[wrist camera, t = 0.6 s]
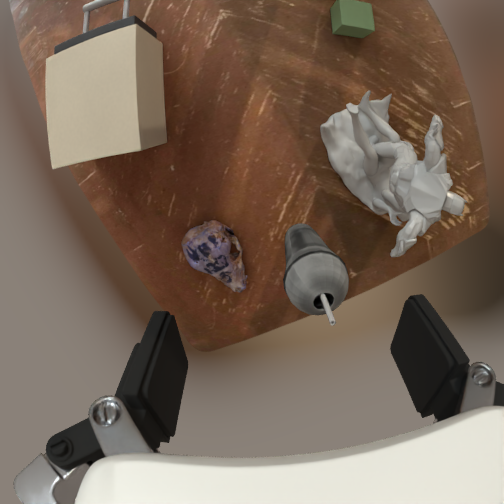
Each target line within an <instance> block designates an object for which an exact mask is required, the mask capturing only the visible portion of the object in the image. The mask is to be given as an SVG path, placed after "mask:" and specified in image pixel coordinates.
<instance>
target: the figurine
mask: <svg viewBox="0 0 504 504" xmlns="http://www.w3.org/2000/svg"><path fill="white" fill-rule="evenodd" d="M370 94H371V91H370V90H369V91H368V92H366V94H365V95H364V96H363V98H362V100H361V102H360V104H359V105H353V104H352V103H349V104H347V105H346V107H347V109H345V110H343V111H341V112H337V113H335V114H333V115H331V116H330V118H329V119H328V121H327V122H326V123H324V124H322V125H321V127H320V131H321V137H322V140H323V142H324V145H325V147H326V149H327V152H328V159H329V161H330V163H331V165H332V168H333V169H334V170H335V171H336V172H337V173H338V174H339V175H340V176H341V178H342V180H343V182H344V184H345V185H346V187H347V188H348V189H349V190H350V191H351V192H352V194H354V195H355V196H356V197H358V198H359V199H360V200H361V202H362V203H364V204H365V205H367V206H368V207H369V208H370V209H371V210H372V211H373V212H375V213H376V214H379V215H383V214H386V213H389V216H390V220H391V223H392V224H395V225H396V226H398V225H399V226H400V224H402V222H400V221H398V220H397V218H396V216H398V217H399V218H400V219H401V221H408V220H409V221H408V223H407V224H406V225H405V227H404V228H403V229H402V230H400V231H399V233H398V235H397V239H396V242H397V243H396V246H395V247H394V249H392V250H391V253H390V255H391V257H398V256H401V255H403V254H405V252H406V250H407V249H409V248H410V247H412V246H413V245H414V244H415V243H416V241H417V238H416V236H417V235H419V236H422V235H423V234H424V233H425V232H426V230H427V229H428V228H429V226H430V225H431V224H433V223H435V222H436V221H439V220H440V219H441V209H442V210H445V211H447V212H449V213H452V214H455V215H460V216H463V215H462V214H461V213H462V211H463V209H464V205H465V203H464V202H466V203H467V201H466V200H464V199H463V198H462V197H460V196H459V195H457V194H455V193H453V192H451V191H449V189H450V187H451V186H452V185H453V183H452V180H451V178H450V173H447V166H446V155H445V154H444V153H443V154H440V151H442V150H443V148H444V143H443V138H442V134H441V132H442V128H443V124H442V121H441V119H440V118H439V116H437V115H434V116H433V118H432V122H431V124H430V128H429V131H428V132H427V135H426V136H425V141H424V142H425V146H426V150H425V158H424V160H423V161H418V160H417V155H416V153H415V152H414V148H413V146H412V145H411V144H410V143H409V142H405V141H400V137H399V135H398V134H397V133H396V132H395V131H394V130H393V129H392V128H391V127H390V125H389V124H388V120H389V115H388V106H389V103H390V99H391V94H389V95H388V96H386V97H385V98H384V99H382V100H372V101H369V96H370ZM399 223H400V224H399Z"/></svg>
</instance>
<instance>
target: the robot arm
mask: <svg viewBox="0 0 504 504" xmlns="http://www.w3.org/2000/svg"><path fill="white" fill-rule="evenodd" d="M390 349H391V354H392V356H393V358H394V360H395V362H396V364H397V367H398V369H399V371H400V373H401V375H402V378H403V380H404V382H405V384H406V387H407V389H408V391H409V394H410V396H411V398H412V401H413V403H414V405H415V408H416V410H417V412H420V413H421V416H422V418H424V417H427V416H430V415H432V414H434V416H435V420H434V423H433V424H432V425H428V426H426V427H423V428H420V429H417V430H414V431H410V432H407V433H404V434H401V435H397V436H394V437H390V438H387V439H383V440H379V441H375V442H371V443H366V444H362V445H357V446H352V447H347V448H342V449H336V450H331V451H323V452H316V453H309V454H299V455H288V456H275V457H254V458H253V457H251V458H250V457H249V458H233V457H202V456H188V455H176V454H163V453H160V451H159V450H158V448H159V446H160V442H167V443H169V440H170V436H172V437H173V436H174V435H175V431H176V425H177V420H178V415H179V410H180V404H181V399H182V394H183V389H184V384H185V379H186V375H187V370H188V360H187V357H186V354H185V351H184V347H183V345H182V341H181V338H180V334H179V331H178V327H177V324H176V320H175V317H174V315H170V313H169V312H168V311H155V312H154V313H153V314H152V317H151V319H150V321H149V324H148V326H147V328H146V331H145V333H144V335H143V338H142V340H141V343H137V344H136V345H135V347H134V349H133V351H132V353H131V356H130V358H129V361H128V363H127V366H126V368H125V371H124V373H123V376H122V378H121V381H120V383H119V386H118V388H117V391H116V394H115V396H104V397H100V398H99V399H97V400H95V401H94V402H93V404H92V405H91V407H90V409H89V414H88V415H89V418H87V419H85V420H83V421H81V422H79V423H77V424H75V425H74V426H71V427H69V428H68V429H65V430H63V431H61V432H59V433H57V434H55V435H54V436H52V437H51V438H50V439H49V441H48V443H47V445H46V453H45V454H44V455H43V454H42V453H41V454H40V455H39V456H37V457H36V458H35V459H34V460H33V461H32V462H31V463H30V464H29V465H28V466H27V467H26V468H24V469H23V470H22V471H21V472H20V473H19V474H18V475H17V476H16V478H15V480H14V489H15V492H16V494H17V495H18V497H19V498H20V500H21V501H22V503H23V504H504V384H501V383H499V382H497V381H496V376H495V373H494V371H493V369H492V368H491V367H490V366H489V365H487V364H485V363H483V362H476V363H473V364H472V365H471V366H470V365H469V364H468V363H469V358H468V357H467V355H466V354H465V352H464V351H463V349H462V348H461V346H460V345H459V343H458V342H457V340H456V339H455V338H454V336H453V335H452V333H451V332H450V330H449V329H448V328H447V326H446V325H445V323H444V322H443V321H442V319H441V318H440V316H439V315H438V313H437V312H436V311H435V310H434V308H433V307H432V305H431V304H430V303H429V302H428V300H427V299H426V298H425V296H424V295H422V294H420V295H413V296H410V297H409V298H408V300H406V301H405V304H404V307H403V311H402V314H401V317H400V320H399V323H398V326H397V329H396V332H395V335H394V338H393V341H392V344H391V348H390ZM75 498H76V501H75Z"/></svg>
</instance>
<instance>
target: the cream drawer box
mask: <svg viewBox="0 0 504 504" xmlns="http://www.w3.org/2000/svg"><path fill="white" fill-rule="evenodd" d="M46 114H47V128H48V139H49V148H50V156H51V163H52V169H55V168H60V167H63V166H67V165H72V164H76V163H80V162H84V161H89V160H93V159H98V158H103V157H108V156H113V155H118V154H124V153H130V152H136V151H141V150H145V149H148V148H151V147H154V146H158V145H161V144H164V143H167V132H166V119H165V103H164V81H163V44H162V43H161V42H160V41H159V40H157V39H156V38H155V37H153V36H152V35H151V34H149V33H148V32H147V31H145V30H144V29H143V28H141V27H140V26H139V25H137V24H134V25H130V26H127V27H123V28H120V29H117V30H114V31H111V32H108V33H105V34H102V35H100V36H97V37H94V38H92V39H89V40H87V41H84V42H82V43H79V44H77V45H75V46H72V47H70V48H68V49H66V50H63V51H61V52H59V53H57V54H55V55H53V56H51V57H49V58H47V59H46Z"/></svg>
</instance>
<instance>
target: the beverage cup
mask: <svg viewBox="0 0 504 504" xmlns="http://www.w3.org/2000/svg"><path fill="white" fill-rule="evenodd" d="M285 255H286V270H285V275H284V279H283V282H284V289H285V291H286V293H287V295H288V297H289V299H290V300H291V302H292V303H293V304H294V305H295V306H296V307H297V308H298V309H299V310H301V311H303V312H305V313H307V314H311V315H323V314H327V317H328V319H329V322H330V324H331V325H335V323H336V321H335V319H334V316H333V313H332V311H333V310H335V309H336V308H337V307H339V305H340V304H341V303H342V302H343V301H344V299H345V296H346V294H347V291H348V282H349V279H348V273H347V269H346V266H345V263H344V262H343V261H342V259H341V258H340V257H339V256H337V255H336V254H335V253H334V252H332V251H331V250H330V249H329V248H328V247H327V245H326V244H325V243H324V242H323V240H322V239H321V238H320V237H319V235H318V234H317V233H316V232H315V231H314V230H313V229H312V228H311V227H310V226H309V225H307V224H302V223H301V224H296V225H293V226H292V227H291V228H289V229H288V231H287V233H286V236H285Z"/></svg>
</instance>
